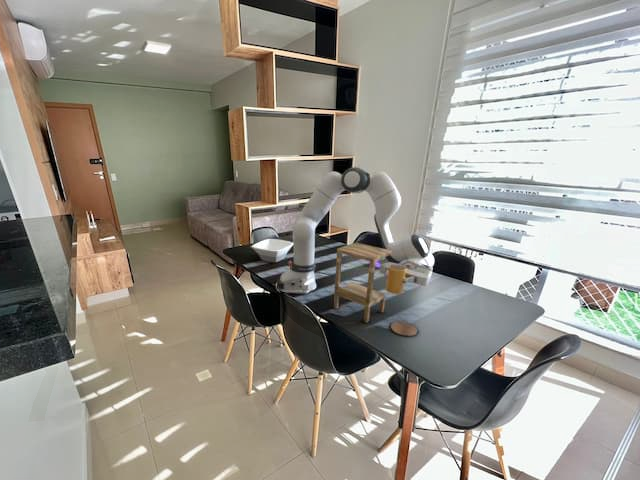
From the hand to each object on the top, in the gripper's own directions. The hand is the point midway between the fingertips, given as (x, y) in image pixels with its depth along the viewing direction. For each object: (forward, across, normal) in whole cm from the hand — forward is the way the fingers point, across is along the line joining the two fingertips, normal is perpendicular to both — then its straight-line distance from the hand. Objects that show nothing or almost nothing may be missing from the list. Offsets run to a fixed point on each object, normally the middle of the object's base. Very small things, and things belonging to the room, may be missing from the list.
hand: (395, 278), depth 115 cm
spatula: (-56, -33, +22) cm, 69 cm away
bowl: (-19, -98, +21) cm, 102 cm away
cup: (-1, 0, +6) cm, 6 cm away
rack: (-1, -16, +21) cm, 26 cm away
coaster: (-1, +6, +21) cm, 22 cm away
